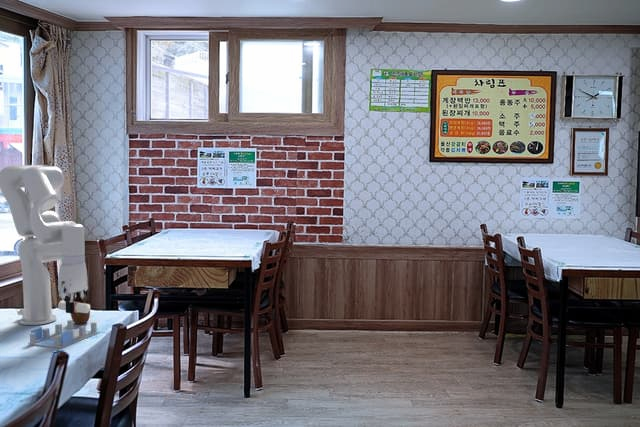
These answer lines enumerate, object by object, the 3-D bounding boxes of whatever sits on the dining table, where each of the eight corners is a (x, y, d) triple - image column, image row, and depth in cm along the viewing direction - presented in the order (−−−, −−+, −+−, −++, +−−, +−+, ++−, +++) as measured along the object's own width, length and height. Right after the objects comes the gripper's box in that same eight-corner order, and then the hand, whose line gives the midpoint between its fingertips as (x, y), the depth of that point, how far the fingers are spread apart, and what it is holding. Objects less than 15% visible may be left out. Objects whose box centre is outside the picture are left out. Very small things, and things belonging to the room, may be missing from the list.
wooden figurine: (93, 321, 244) (91, 282, 243) (83, 325, 238) (81, 285, 237) (78, 320, 246) (77, 281, 245) (68, 324, 241) (66, 284, 239)
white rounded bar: (58, 311, 227) (57, 302, 227) (65, 308, 231) (64, 298, 230) (84, 315, 224) (83, 305, 223) (91, 311, 227) (90, 301, 226)
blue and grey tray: (28, 344, 215) (27, 331, 214) (68, 330, 233) (67, 317, 232) (60, 348, 210) (59, 334, 210) (98, 333, 228) (98, 320, 228)
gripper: (80, 254, 234) (81, 304, 236) (47, 262, 218) (48, 316, 220) (97, 256, 231) (98, 307, 233) (65, 264, 216) (66, 318, 218)
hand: (74, 310), depth 227 cm, fingers closed on white rounded bar, 3 cm apart
